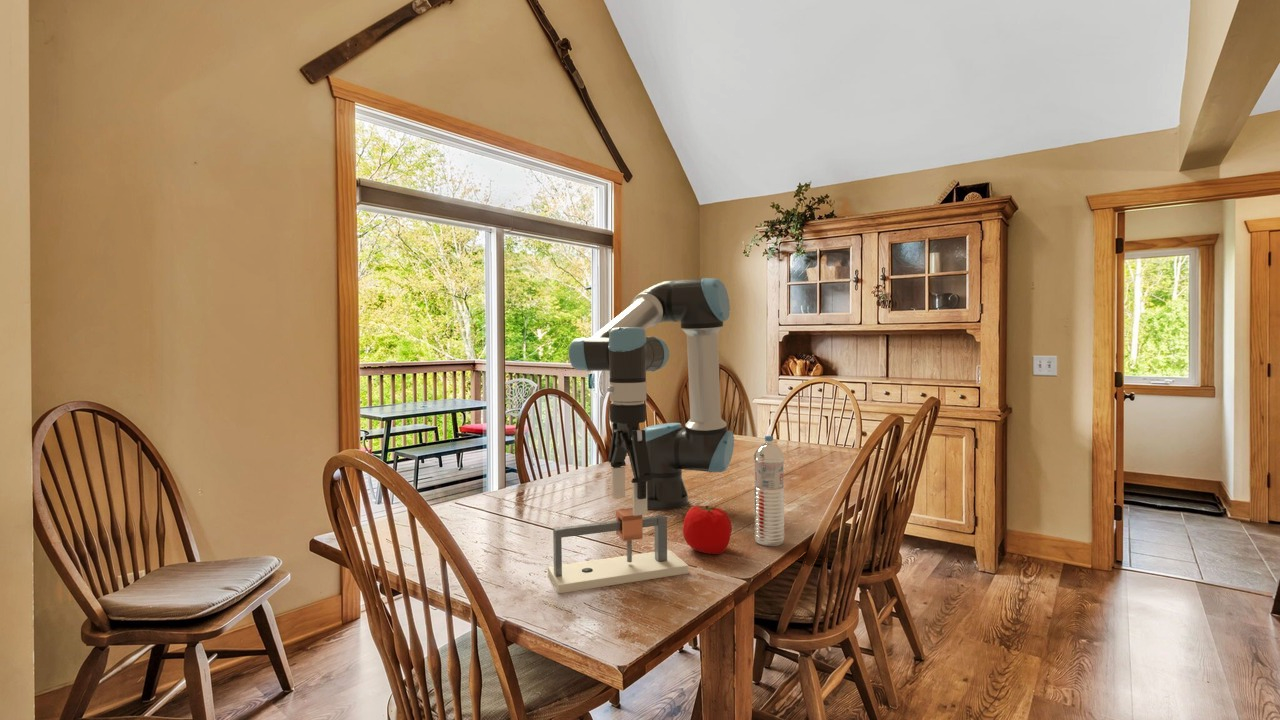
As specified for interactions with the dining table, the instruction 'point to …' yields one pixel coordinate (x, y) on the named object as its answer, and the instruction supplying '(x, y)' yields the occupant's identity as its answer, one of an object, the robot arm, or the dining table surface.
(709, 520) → the tomato
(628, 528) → the slider sleeve
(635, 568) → the hole board
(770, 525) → the water bottle
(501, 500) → the dining table surface
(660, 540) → the grey slider rail frame
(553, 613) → the dining table surface
